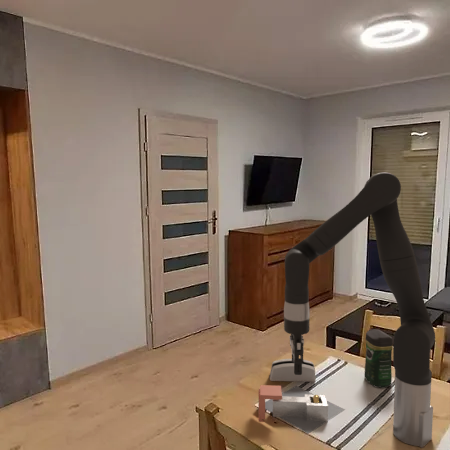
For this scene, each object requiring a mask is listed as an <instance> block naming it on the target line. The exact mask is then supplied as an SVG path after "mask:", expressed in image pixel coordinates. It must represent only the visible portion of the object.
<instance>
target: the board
mask: <svg viewBox="0 0 450 450" xmlns="http://www.w3.org/2000/svg"><path fill="white" fill-rule="evenodd" d="M304 394H309V395H315V393H312V392H310V391H308V390H305V389H303V388H301V387H299V386H297V385H295V386H294V387H291V388H290V389H288V390H285V391H284V392H282V396H288V397H304ZM326 401H327V404H328V421H330V420H331V419H333V418H334V417H336V416H337V415H338V414H340V413H342V412H343V411H345V410H346V409H345V408H343V407H340V406H339V405H337V404H334V403H332V402H331V401H328V400H326ZM266 410H267V411H268V412H270V413H271V414H273V399H267V400H265V411H266ZM279 418H280V419H282V420H284V421H285V422H286V423H289V424H290V425H292V426H294V427H295V428H298V429H299V430H301V431H302V432H304V433H306V434H310V433H311V432H313V431H314V430H316V429H317V428H320V427H321V426H322V425H324V424H325V423H326V422H318V421H307V420H306V418H293V417H279Z"/></svg>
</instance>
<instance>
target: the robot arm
mask: <svg viewBox="0 0 450 450" xmlns="http://www.w3.org/2000/svg"><path fill="white" fill-rule="evenodd" d="M401 190H402V185H401V181H400V179H399V178H398V177H397V176H396V175H394V174H392V173H390V172H378V173H375V174H373V175H372V176H370V177H369V178H368V179H367V181H366V182H365V184H364V187H363V188H362V189H361V190H360V191H359V193H358V194H356V196H355V197H353V199H352V200H351V201H349V202H348V203H347V204H346V205H345V206H344V207H343V208H341V209H340V210H338V212H336V213H335V214H334V215H332V216H330V217H329V218H328V219H326V221H324V222H323V223H322V224H321V225H319V227H317V228H316V229H315V230H313V232H311V233H310V235H308V236H307V237H306V238H305V239H303V240H302V241H300V242H299V243H297V244H295V246H293V247H292V248H290V249H289V250H288V252H286V255H285V256H284V275H285V276H284V278H285V286H284V306H283V330H284V332H286V333H287V334H289V345H290V349H291V359H292V362H294V374H295V375H301V374H302V363H303V362H304V360H305V359H304V354H305V351H304V350H305V349H304V345H305V338H304V335H306V334H308V333H310V302H309V301H310V300H309V298H310V297H309V295H310V293H309V292H310V291H309V290H310V289H309V277H310V264H311V263H312V262H313V261H314V260H315V259H317V258H318V257H320V256H323V255H325V254H326V253H328V252H329V251H330V250H331V249H332V248H334V247H335V246H336V245H337V244H339V243H340V242H341V241H342V240H343V239H344V238H346V237H347V235H349V234H350V232H352V231H353V230H354V229H355V228H357V226H359V224H361V223H362V222H363V221H365V220H366V219H367V218H368V217H371V219H372V223H373V225H374V234H375V240H376V247H377V248H376V249H377V253H378V257H379V259H378V260H379V263H380V268H381V271H382V275H383V277H384V278H383V279H384V281H385V282H386V283H385V284H387V286H388V289H389V290H390V291H391V293H392V295H393V297H394V298H395V301H396V304H397V309H398V312H399V313H398V314H399V321H400V326H399V327H398V328H397V329H396V331H395V332H394V335H393V348H392V355H393V356H392V357H393V360H392V361H393V362H392V363H393V368H394V394H393V416H392V417H393V421H392V422H393V423H392V433H393V435H394V437H395V438H396V439H397V440H399V441H400V442H402V443H404V444H407V445H411V446H415V447H420V448H424V447H425V446H426V445H427V444H428V443H429V442H430V441H431V440H432V439H433V420H434V419H433V418H434V417H433V415H434V406H433V405H431V398H432V397H431V394H432V377H433V376H432V375H433V374H432V370H431V367H430V365H431V363H430V362H431V361H430V360H431V359H430V358H431V350H432V347H433V346H434V344H435V342H436V331H435V329H434V326H433V322H432V320H431V318H430V314H429V313H428V310H427V306H426V303H425V299H424V294H423V288H422V283H421V278H420V275H419V274H420V273H419V268H418V263H417V260H416V255H415V252H414V248H413V245H412V243H411V241H410V239H409V236H408V234H407V231H406V229H405V228H404V225H403V222H402V220H401V216H400V212H399V211H400V210H399V206H398V197H400V194H401Z"/></svg>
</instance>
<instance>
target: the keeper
mask: <svg viewBox="0 0 450 450" xmlns="http://www.w3.org/2000/svg"><path fill="white" fill-rule="evenodd" d="M282 391H283V390H282V385H267V384H263V385H262V384H260V385H259V388H258V422H262V423H263V422H264V423H265V420H266V409H265V402H266V400H270V399H277V400H282V393H283V392H282Z"/></svg>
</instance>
